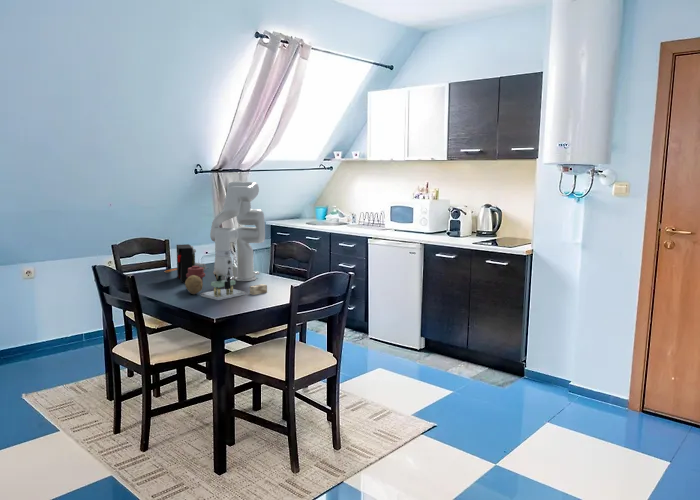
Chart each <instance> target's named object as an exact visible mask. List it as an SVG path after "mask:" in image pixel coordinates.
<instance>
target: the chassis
mask: <svg viewBox="0 0 700 500" xmlns="http://www.w3.org/2000/svg"><path fill="white" fill-rule="evenodd" d="M245 295H247V291H243V290H239V289H235V288H234V285H230V289H225V288H222V287H219V288H217V287H214V286H213V290H211V291H205V292H201V293H200V297H203V298H207V299H211V300H215V301H221V300H226V299H231V298H235V297H236V298H237V297H240V296H245Z"/></svg>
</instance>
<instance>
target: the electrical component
mask: <svg viewBox="0 0 700 500" xmlns="http://www.w3.org/2000/svg"><path fill="white" fill-rule="evenodd" d="M196 252H197V250H196V249H195V248H194V246H193V245H192V244H189V243H188V244H176V268H177V270H176V274H177V275H176V276H177V277H178V278H177V280H180V282H181V284H185V281H186V279H187V277H186V274H187V273H188V268H190V267H192V266H195V263H196V254H195V253H196Z"/></svg>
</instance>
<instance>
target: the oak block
mask: <svg viewBox="0 0 700 500" xmlns="http://www.w3.org/2000/svg"><path fill="white" fill-rule="evenodd" d="M265 293H268V284H264V283H261V284H256V285H251V286H249V294H250V295H253V296H255V295H260V294H265Z"/></svg>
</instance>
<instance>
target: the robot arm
mask: <svg viewBox="0 0 700 500" xmlns="http://www.w3.org/2000/svg"><path fill="white" fill-rule="evenodd" d="M259 188H260V187H259V184H258V183H257V182H255V181H231V182H228V184H227V190H226V193H225V199H224V205H223V210H221V212H219V213H218V214H217V215H216V216H215V217H214V219H212V222H211V228H210V234H209V236H210V239H211V241H212V242H214V246H215V247H214V250H215V252H214V253H215V255H214V266H213V268H214V269H213V271H212V273H213V275H214V277H215V280H216V281H220V280H223V279H222V278H224V280H225V281H226V282H225V286H224V289H230V286H231V285H230V281H231V280H233V278H234V280H235V281H238V282H251V281H255V280H257V277H256V276H257V275H260V271H254V249H253V247H252V245H251V244H262V243H264V242H265V239H266V226H265V225H266V224H265V214H264V212H263V210H262V209H258V208H252V205H251V204H252V203H251V202H253V200H255V199H256V197H257V196H258V194H259V192H260V189H259ZM233 218H236V222H237V224H238V225H241V226H240V227H237V228H234V227H220V226H221V225H222V224H223V223H224V222H226V221H229V220H231V219H233ZM234 242H236V264H237V265H236V269H237V270H236V271H237V272H236V274H237V276H235V275H234V267H233V260H232V256H231V243H234ZM234 276H235V277H234ZM217 288H218V287H217Z"/></svg>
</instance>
